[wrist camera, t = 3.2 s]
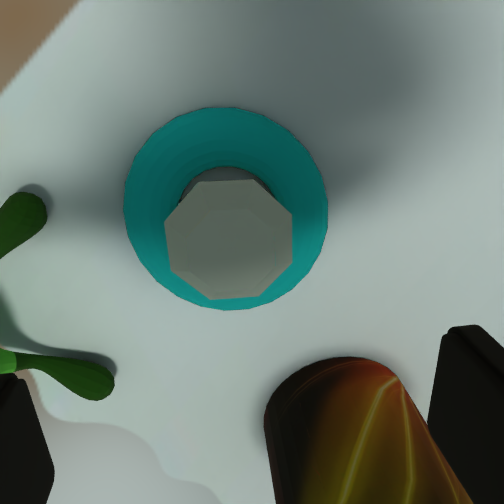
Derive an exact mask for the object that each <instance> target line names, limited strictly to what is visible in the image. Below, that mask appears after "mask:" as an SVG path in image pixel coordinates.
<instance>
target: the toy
mask: <svg viewBox="0 0 504 504" xmlns="http://www.w3.org/2000/svg"><path fill="white" fill-rule="evenodd" d="M46 221H47V211H46V206H45V204H44V202H43V201H42V199H41V198H39V197H38V196H36V195H34V194H31V193H27V192H19V193H15V194H13V195H12V196H10V197H9V198H8V199H7V200H6V201H5V203H4V204H3V205H2V207H1V208H0V259H1V258H2V257H3V256H5V255H6V254H7V253H9V252H10V251H12V250H13V249H15V248H16V247H18V246H19V245H21V244H22V243H24V242H25V241H27V240H28V239H30V238H31V237H32V236H34V235H35V234H36V233H37V232H39V231H40V230H41V229H42V228H43V226H44V225H45V224H46ZM32 368H34V369H38V370H41V371H43V372H45V373H47V374H48V375H50V376H51V377H53V378H54V379H56V380H57V381H58V382H60V383H61V384H62V385H64V386H65V387H66V388H68V389H69V390H71V391H72V392H74V393H75V394H77V395H79V396H80V397H83V398H85V399H88V400H94V401H98V400H102V399H104V398H106V397H107V396H109V395H110V394H111V392H112V391H113V388H114V386H115V383H114V376H113V375H112V373H111V372H110V371H109V370H108V369H107V368H105V367H103V366H101V365H99V364H96V363H92V362H89V361H84V360H79V359H72V358H65V357H56V356H45V355H35V354H26V353H18V352H12V351H8V350H4V349H1V348H0V374H4V373H13V372H16V371H19V370H23V369H32Z"/></svg>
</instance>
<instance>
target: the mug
mask: <svg viewBox="0 0 504 504" xmlns="http://www.w3.org/2000/svg"><path fill="white" fill-rule="evenodd" d="M264 432H265V438H266V445H267V451H268V457H269V463H270V469H271V476H272V482H273V488H274V494H275V500H276V504H473V502H472V501H471V499H470V497H469V496H468V494H467V493H466V491H465V489H464V488H463V486H462V485H461V483H460V481H459V480H458V478H457V477H456V475H455V473H454V472H453V470H452V469H451V467H450V466H449V464H448V462H447V461H446V459H445V458H444V456H443V454H442V453H441V451H440V450H439V448H438V446H437V445H436V443H435V442H434V440H433V438H432V437H431V435H430V432H429V429H428V425H427V423H426V422H425V420H424V419H423V417H422V415H421V414H420V412H419V410H418V409H417V407H416V406H415V404H414V402H413V401H412V399H411V397H410V396H409V394H408V393H407V391H406V389H405V388H404V386H403V384H402V383H401V382H400V380H399V379H398V377H397V376H396V375H395V374H394V373H393V372H392V371H391V370H390V369H388V368H387V367H385V366H383V365H381V364H380V363H378V362H375V361H372V360H368V359H365V358H357V357H339V358H331V359H327V360H323V361H319V362H316V363H314V364H311V365H309V366H306V367H304V368H302V369H301V370H299V371H297V372H296V373H294V374H292V375H291V376H290V377H289V378H288V379H286V380H285V381H284V382H283V383H282V384H281V385H280V386H279V387H278V388H277V390H276V391H275V392H274V393H273V394H272V396H271V398H270V400H269V402H268V404H267V406H266V410H265V414H264Z"/></svg>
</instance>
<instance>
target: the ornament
mask: <svg viewBox="0 0 504 504" xmlns="http://www.w3.org/2000/svg"><path fill="white" fill-rule="evenodd" d="M231 166H232V167H236V168H240V169H244V170H246V171H248V172H250V173H252V174H254V175H256V176H257V177H258V178H260V179H261V180H262V181H263V182H264V183H265V184H266V185H267V186H268V188H269V189H270V191H271V193H272V194H273V196H274V197H275V199H274V198H273V197H272V196H271V195H270V194H269V193H268V192H267V191H266V190H265V189H264V188H262V187H261V186H260V185H259V184H258V183H257V182H256V181H255V180H254V179H249V180H229V181H208V182H198V183H197V184H196V185H195V186H194V188H193V189H192V190H191V191H190V192H189V193H188V195H187V196H186V197H185V198H184V199H183V200H182V202H181V203H180V204H179V205H178V203H179V200H180V198H181V195H182V193H183V191H184V189H185V188H186V186H187V185H188V184H189V183H190V182H191V180H192V179H193V178H195V177H196V176H198V175H199V174H201V173H202V172H204V171H206V170H209V169H212V168H216V167H231ZM123 212H124V217H125V222H126V228H127V233H128V237H129V239H130V241H131V243H132V246H133V248H134V250H135V252H136V254H137V256H138V258H139V260H140V262H141V263H142V264H143V265H144V266H145V268H146V269H147V270H148V271H149V272H150V274H151V275H152V276H153V277H154V278H155V280H156V281H157V282H159V283H160V284H161V285H163V286H164V287H165V288H167V289H168V290H170V291H171V292H172V293H174V294H175V295H176V296H178V297H180V298H182V299H185V300H187V301H189V302H192V303H194V304H197V305H199V306H202V307H207V308H213V309H219V310H241V309H250V308H254V307H257V306H260V305H263V304H267V303H270V302H272V301H274V300H275V299H277V298H279V297H280V296H282V295H284V294H285V293H287V292H289V291H290V290H292V289H293V288H294V287H295V286H296V285H297V284H298V283H299V282H300V281H301V280H302V279H303V278H304V277H305V276H306V275H307V274H308V273H309V271H310V269H311V268H312V266H313V264H314V262H315V261H316V259H317V257H318V256H319V254H320V252H321V249H322V246H323V242H324V239H325V235H326V231H327V228H328V200H327V196H326V192H325V188H324V184H323V180H322V176H321V174H320V172H319V170H318V168H317V167H316V165H315V163H314V161H313V159H312V157H311V156H310V154H309V152H308V151H307V150H306V149H305V148H304V146H303V145H302V144H301V143H300V142H299V141H298V140H297V139H296V138H295V137H294V136H293V135H292V134H291V133H290V132H289V131H288V130H287V129H285V128H283V127H282V126H280V125H278V124H277V123H275V122H273V121H272V120H270V119H268V118H267V117H265V116H263V115H260V114H256V113H252V112H249V111H245V110H241V109H238V108H203V109H200V110H197V111H194V112H191V113H188V114H185V115H181V116H178V117H176V118H174V119H173V120H172V121H170V122H169V123H167V124H166V125H164V126H163V127H162V128H160V129H159V130H157V131H156V132H154V133H153V134H152V135H151V137H150V138H149V139H148V140H147V142H146V143H145V144H144V146H143V147H142V148H141V150H140V151H139V152H138V153H137V155H136V156H135V158H134V161H133V163H132V166H131V169H130V171H129V174H128V177H127V179H126V182H125V192H124V205H123Z"/></svg>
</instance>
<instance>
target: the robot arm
mask: <svg viewBox="0 0 504 504" xmlns="http://www.w3.org/2000/svg"><path fill="white" fill-rule="evenodd" d="M427 424H428V429H429V432H430V435H431V437H432V438H433V440H434V442H435V443H436V445H437V446H438V448H439V450H440V451H441V453H442V454H443V456H444V458H445V459H446V461H447V462H448V464H449V466H450V467H451V469H452V470H453V472H454V473H455V475H456V477H457V478H458V480H459V481H460V483H461V485H462V486H463V488H464V489H465V491H466V493H467V494H468V496H469V497H470V499H471V501H472V502H473V504H504V348H503V347H502V346H501V345H500V344H499V343H498V342H497V341H496V340H495V339H494V338H493V337H491V336H490V335H489V334H488V333H487V332H486V331H485V330H484V329H483V328H482V327H480V326H479V325H466V326H457V327H452V328H450V329H449V330H448V333H447V334H445V335H443V336H442V339H441V344H440V350H439V355H438V361H437V367H436V373H435V378H434V384H433V390H432V396H431V401H430V407H429V413H428V419H427ZM54 472H55V471H54V465H53V462H52V459H51V456H50V453H49V450H48V447H47V444H46V441H45V438H44V435H43V432H42V429H41V426H40V423H39V420H38V417H37V414H36V411H35V408H34V405H33V402H32V399H31V395H30V392H29V390H28V386H27V384H26V381H25V380H24V379H18V378H17V376H16V375H15V374H14V373H4V374H0V504H46V503H47V500H48V497H49V494H50V491H51V489H52V485H53V482H54V474H55V473H54Z"/></svg>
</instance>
